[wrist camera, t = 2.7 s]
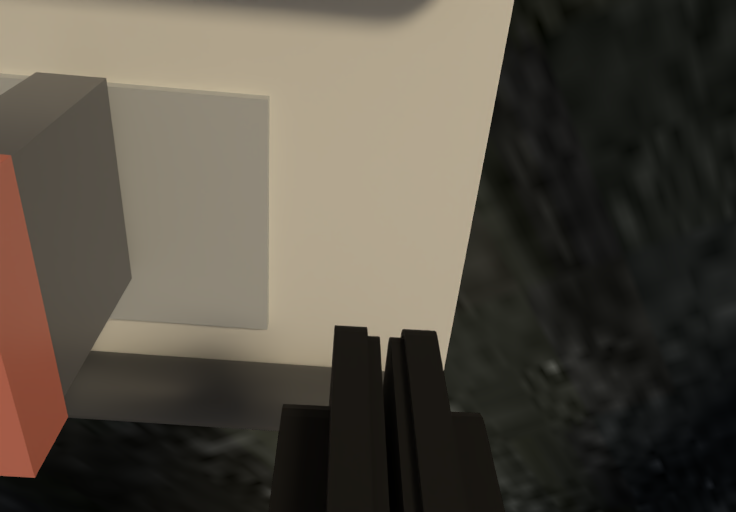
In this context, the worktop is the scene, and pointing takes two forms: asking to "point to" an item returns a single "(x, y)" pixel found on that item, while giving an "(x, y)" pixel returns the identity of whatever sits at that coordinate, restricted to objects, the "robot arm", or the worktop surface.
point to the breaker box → (272, 185)
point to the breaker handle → (54, 252)
